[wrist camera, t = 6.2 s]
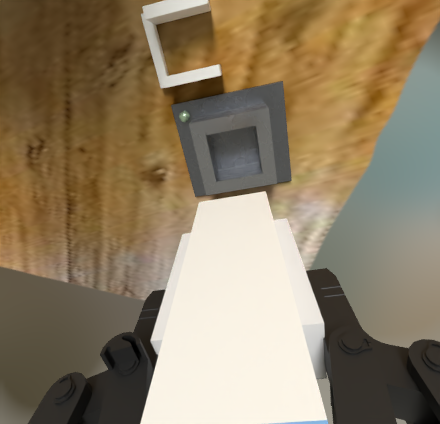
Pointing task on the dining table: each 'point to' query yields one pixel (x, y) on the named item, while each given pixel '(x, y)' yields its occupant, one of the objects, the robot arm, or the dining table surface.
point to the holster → (156, 14)
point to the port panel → (235, 139)
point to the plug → (234, 328)
